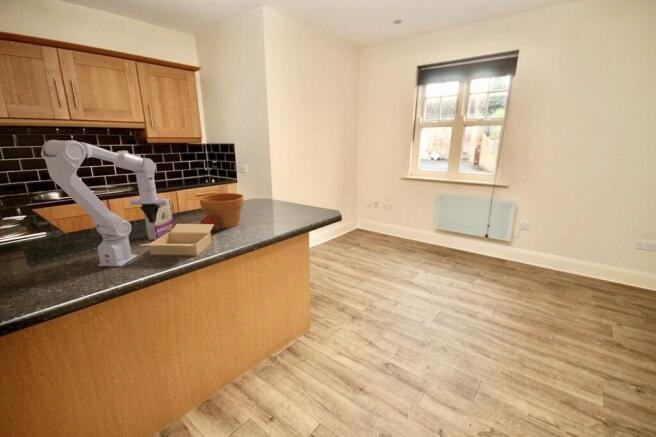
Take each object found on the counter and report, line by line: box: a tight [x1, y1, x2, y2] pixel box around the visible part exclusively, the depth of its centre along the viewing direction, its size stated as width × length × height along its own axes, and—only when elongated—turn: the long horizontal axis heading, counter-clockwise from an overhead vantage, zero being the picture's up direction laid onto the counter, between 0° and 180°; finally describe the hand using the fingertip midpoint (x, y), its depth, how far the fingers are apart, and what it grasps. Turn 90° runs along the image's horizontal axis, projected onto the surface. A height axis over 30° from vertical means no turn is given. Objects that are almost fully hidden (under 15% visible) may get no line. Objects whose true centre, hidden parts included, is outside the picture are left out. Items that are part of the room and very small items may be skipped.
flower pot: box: [199, 192, 244, 230], centre depth 147 cm, size 21×21×15 cm
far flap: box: [171, 223, 214, 233], centre depth 125 cm, size 6×16×1 cm, turn 90°
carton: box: [148, 232, 212, 257], centre depth 116 cm, size 14×18×4 cm
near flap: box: [139, 243, 194, 247], centre depth 105 cm, size 6×16×1 cm, turn 90°
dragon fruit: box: [199, 216, 222, 234], centre depth 136 cm, size 8×8×12 cm
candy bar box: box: [143, 198, 175, 241], centre depth 129 cm, size 11×5×16 cm, turn 168°
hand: (152, 222), depth 116 cm, fingers closed
